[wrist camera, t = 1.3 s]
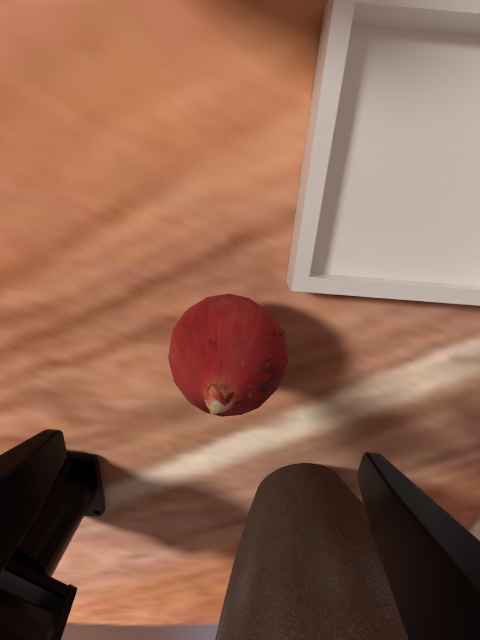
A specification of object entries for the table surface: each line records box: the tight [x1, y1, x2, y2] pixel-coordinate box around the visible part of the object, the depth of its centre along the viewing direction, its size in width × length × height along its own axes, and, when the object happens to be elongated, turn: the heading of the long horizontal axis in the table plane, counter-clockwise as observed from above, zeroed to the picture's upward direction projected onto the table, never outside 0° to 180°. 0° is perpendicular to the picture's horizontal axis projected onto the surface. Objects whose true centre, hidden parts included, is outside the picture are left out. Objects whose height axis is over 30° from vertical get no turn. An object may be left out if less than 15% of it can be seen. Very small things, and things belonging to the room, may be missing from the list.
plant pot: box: [215, 464, 409, 640], centre depth 15 cm, size 15×15×16 cm
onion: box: [169, 294, 288, 417], centre depth 14 cm, size 6×6×8 cm
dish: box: [286, 0, 480, 306], centre depth 13 cm, size 12×12×2 cm
